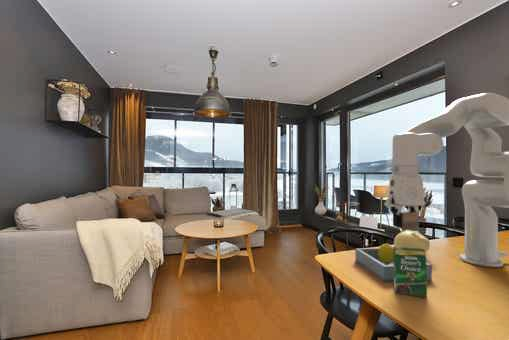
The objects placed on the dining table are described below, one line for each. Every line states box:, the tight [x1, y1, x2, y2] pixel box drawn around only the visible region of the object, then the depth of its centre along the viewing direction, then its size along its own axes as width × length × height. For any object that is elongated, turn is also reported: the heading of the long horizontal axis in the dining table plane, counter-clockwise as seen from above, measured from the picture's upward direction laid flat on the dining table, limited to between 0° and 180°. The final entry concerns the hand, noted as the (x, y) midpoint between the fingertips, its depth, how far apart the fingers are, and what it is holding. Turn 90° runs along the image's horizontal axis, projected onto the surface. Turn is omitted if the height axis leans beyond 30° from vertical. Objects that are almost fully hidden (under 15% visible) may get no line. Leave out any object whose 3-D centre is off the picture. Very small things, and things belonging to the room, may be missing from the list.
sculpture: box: [393, 230, 431, 253], centre depth 105 cm, size 12×12×11 cm
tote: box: [354, 247, 433, 283], centre depth 91 cm, size 16×18×5 cm
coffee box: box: [392, 246, 428, 298], centre depth 74 cm, size 8×3×13 cm, turn 69°
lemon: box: [378, 242, 394, 265], centre depth 94 cm, size 6×6×8 cm
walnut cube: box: [392, 210, 419, 230], centre depth 84 cm, size 5×5×5 cm
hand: (405, 225), depth 84 cm, fingers closed on walnut cube, 5 cm apart
